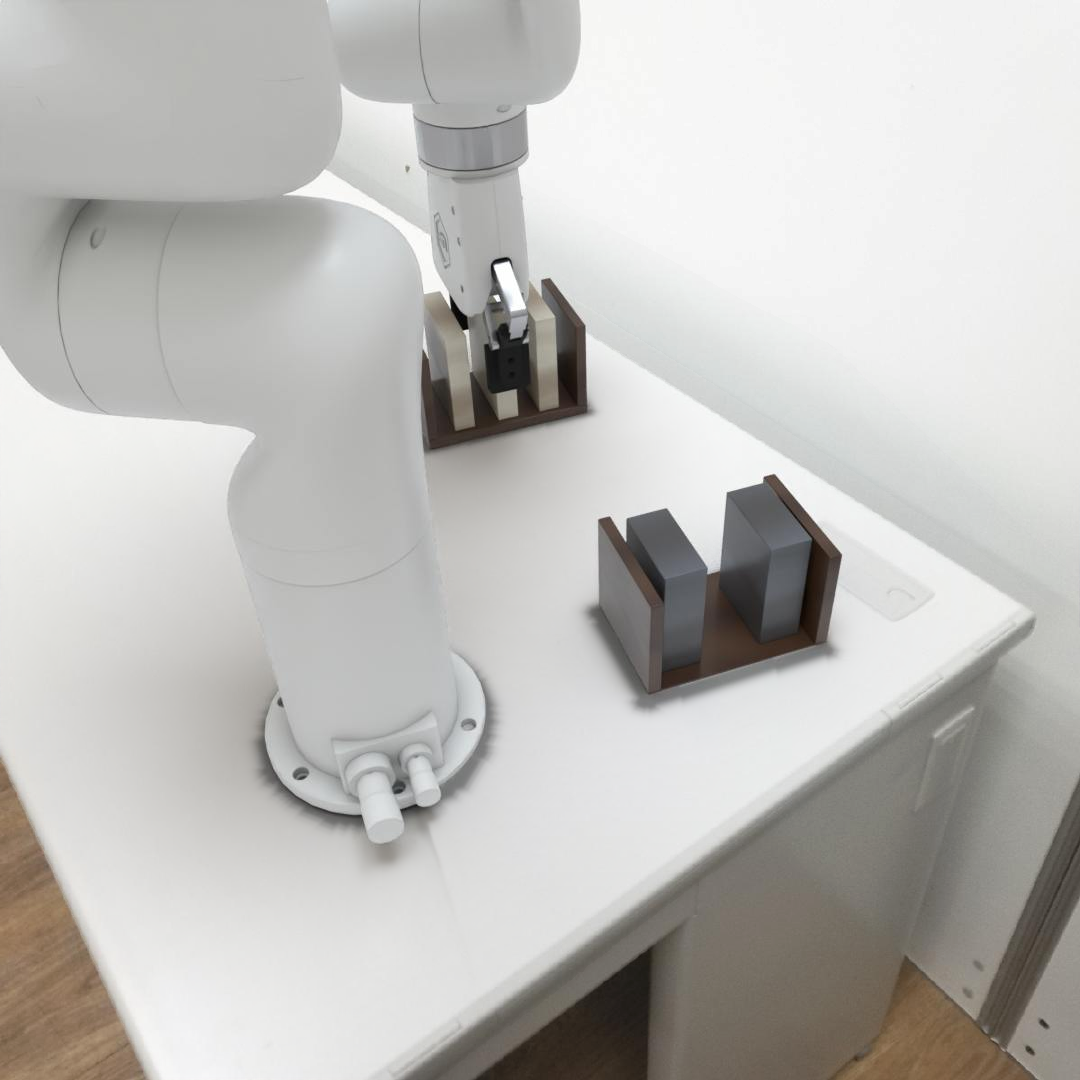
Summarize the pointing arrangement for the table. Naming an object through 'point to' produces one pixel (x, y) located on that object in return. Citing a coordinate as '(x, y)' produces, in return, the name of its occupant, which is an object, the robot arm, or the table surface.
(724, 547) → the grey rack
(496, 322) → the white book
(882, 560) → the table surface
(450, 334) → the brown book rack
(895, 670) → the table surface
